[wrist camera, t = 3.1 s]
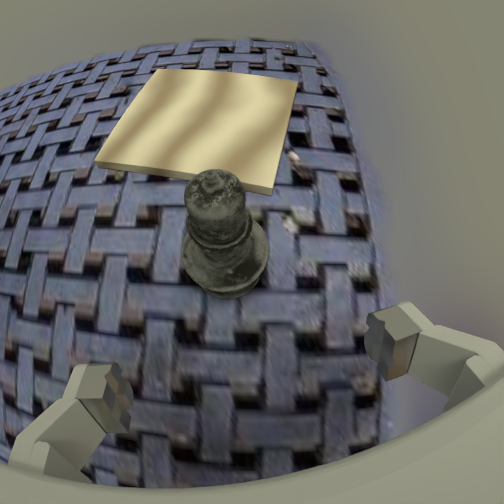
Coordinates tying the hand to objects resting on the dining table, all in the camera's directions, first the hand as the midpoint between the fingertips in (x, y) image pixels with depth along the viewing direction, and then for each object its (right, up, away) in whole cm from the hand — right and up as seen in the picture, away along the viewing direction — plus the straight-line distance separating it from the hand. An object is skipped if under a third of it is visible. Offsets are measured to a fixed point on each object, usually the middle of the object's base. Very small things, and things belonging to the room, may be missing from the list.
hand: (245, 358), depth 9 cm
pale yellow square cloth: (-5, +17, +20) cm, 27 cm away
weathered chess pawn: (-2, +2, +14) cm, 15 cm away
